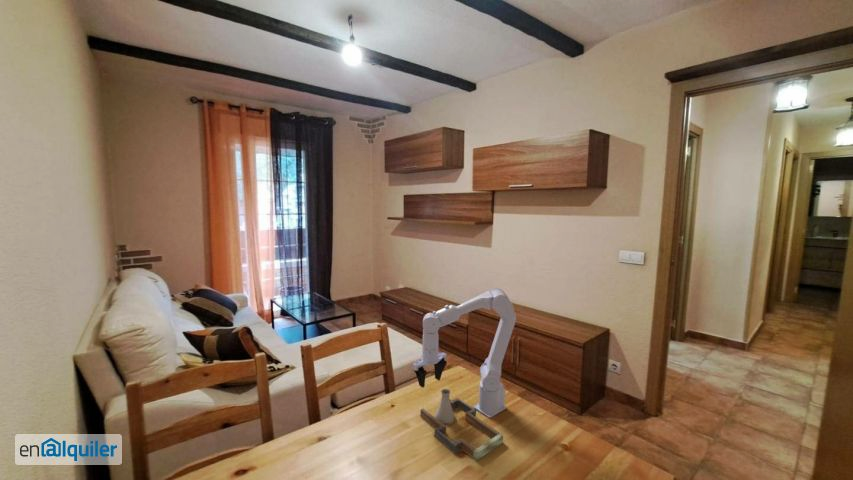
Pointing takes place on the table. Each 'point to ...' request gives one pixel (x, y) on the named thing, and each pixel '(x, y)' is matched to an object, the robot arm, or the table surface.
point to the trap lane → (461, 443)
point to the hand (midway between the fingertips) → (429, 382)
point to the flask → (445, 409)
